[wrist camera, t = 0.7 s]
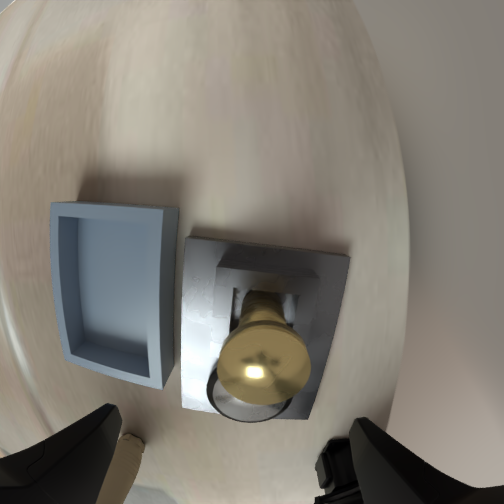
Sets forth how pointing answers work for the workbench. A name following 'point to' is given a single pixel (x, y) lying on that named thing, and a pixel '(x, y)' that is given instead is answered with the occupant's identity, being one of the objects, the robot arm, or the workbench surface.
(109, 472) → the handle
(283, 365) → the pin
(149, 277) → the pin tray
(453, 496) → the robot arm
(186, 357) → the grey socket base
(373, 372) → the workbench surface
